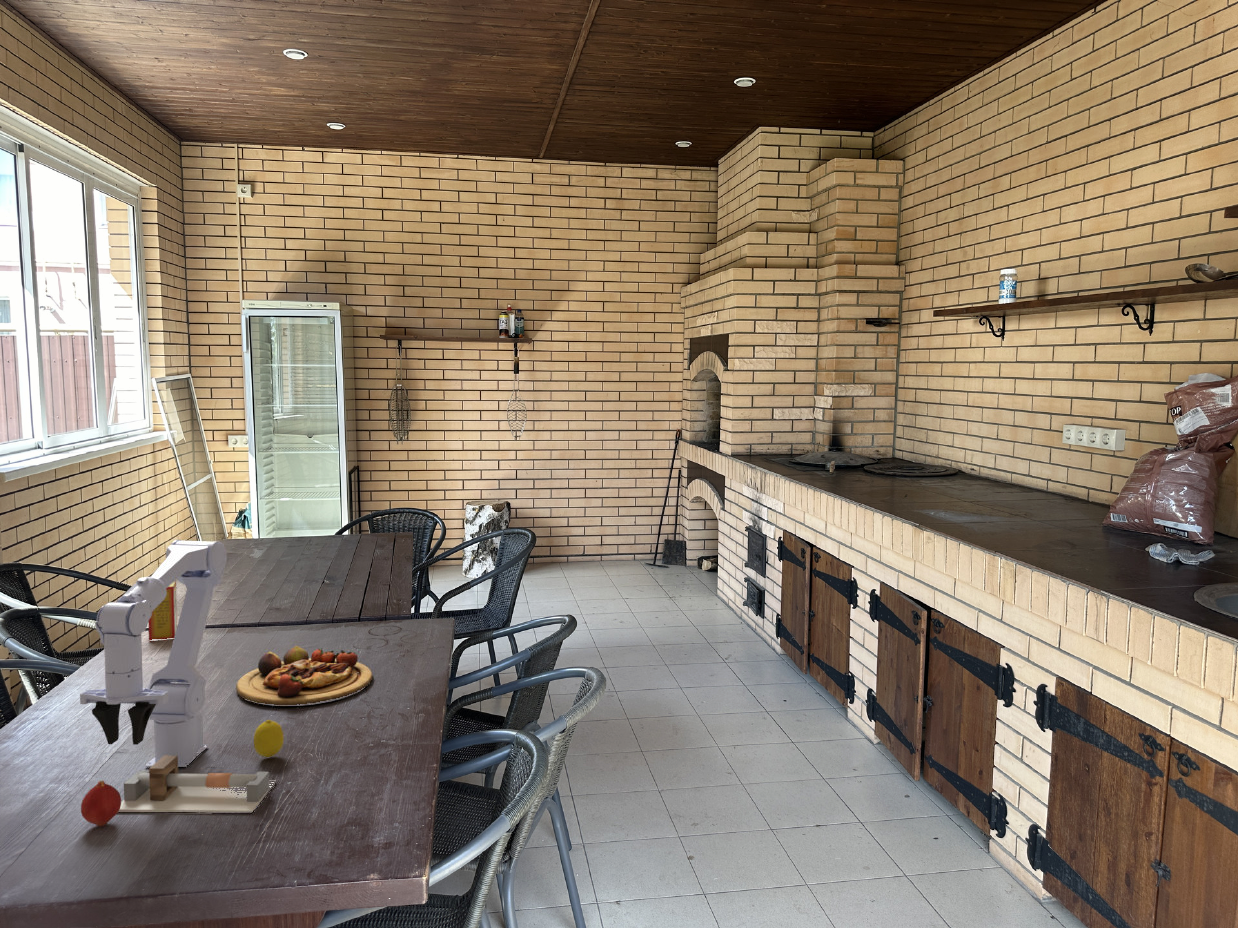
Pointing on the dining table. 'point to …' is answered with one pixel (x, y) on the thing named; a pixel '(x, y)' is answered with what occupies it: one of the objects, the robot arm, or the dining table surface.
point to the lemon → (268, 738)
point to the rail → (197, 793)
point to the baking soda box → (164, 616)
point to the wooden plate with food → (303, 677)
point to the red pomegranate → (101, 804)
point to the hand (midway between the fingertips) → (125, 742)
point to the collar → (162, 777)
